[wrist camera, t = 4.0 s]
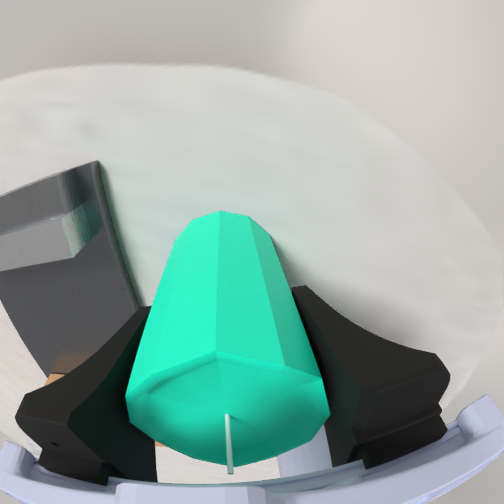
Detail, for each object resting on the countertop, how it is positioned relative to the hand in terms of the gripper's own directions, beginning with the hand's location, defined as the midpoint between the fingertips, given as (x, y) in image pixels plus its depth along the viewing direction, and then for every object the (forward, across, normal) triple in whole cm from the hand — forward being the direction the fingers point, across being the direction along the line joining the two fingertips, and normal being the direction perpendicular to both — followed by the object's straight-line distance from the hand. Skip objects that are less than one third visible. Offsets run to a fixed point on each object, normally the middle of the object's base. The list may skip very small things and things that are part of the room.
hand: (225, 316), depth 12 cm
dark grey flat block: (+5, +12, +4) cm, 14 cm away
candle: (+5, 0, 0) cm, 5 cm away
